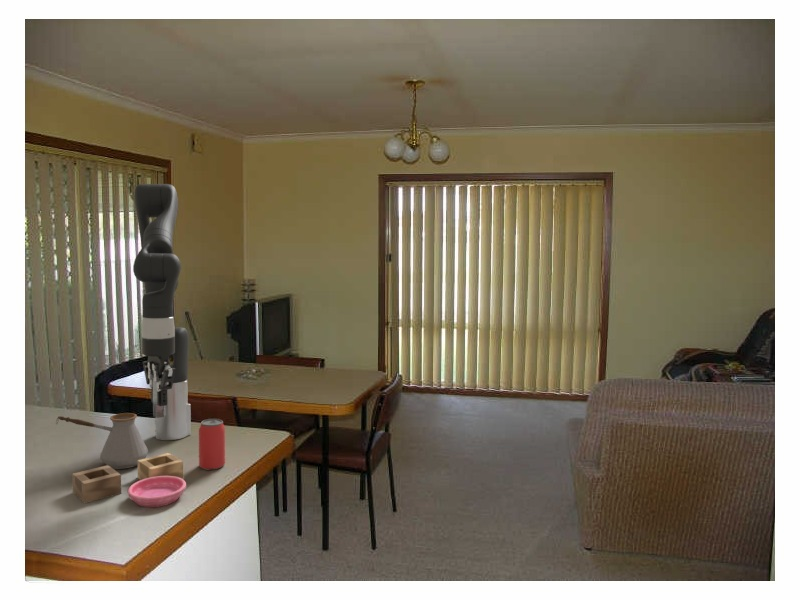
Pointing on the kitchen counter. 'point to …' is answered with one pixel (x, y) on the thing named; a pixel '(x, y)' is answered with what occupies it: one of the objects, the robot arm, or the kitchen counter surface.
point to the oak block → (160, 466)
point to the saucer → (157, 490)
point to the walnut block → (96, 483)
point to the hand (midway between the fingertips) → (159, 403)
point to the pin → (157, 410)
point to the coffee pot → (119, 441)
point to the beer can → (211, 444)
